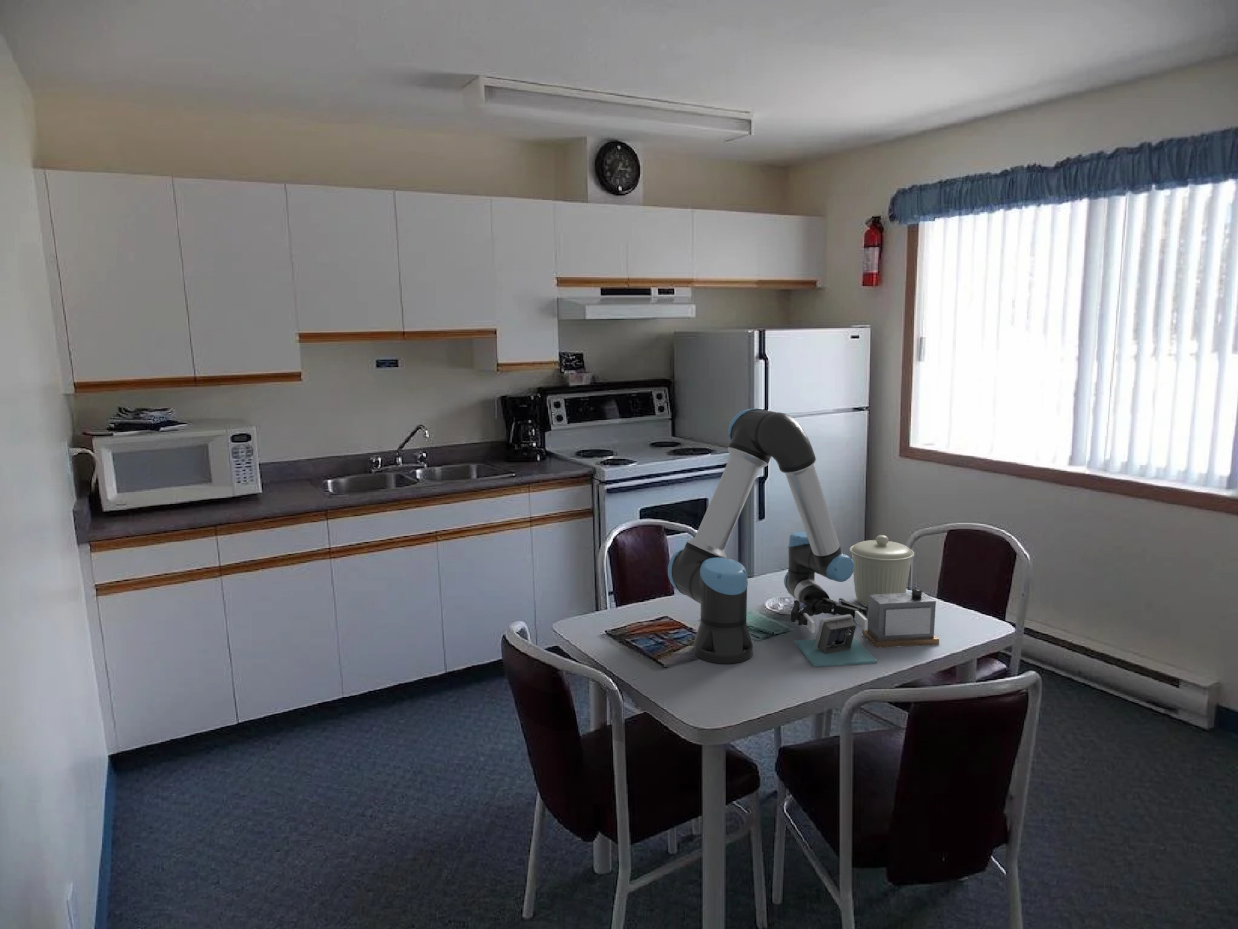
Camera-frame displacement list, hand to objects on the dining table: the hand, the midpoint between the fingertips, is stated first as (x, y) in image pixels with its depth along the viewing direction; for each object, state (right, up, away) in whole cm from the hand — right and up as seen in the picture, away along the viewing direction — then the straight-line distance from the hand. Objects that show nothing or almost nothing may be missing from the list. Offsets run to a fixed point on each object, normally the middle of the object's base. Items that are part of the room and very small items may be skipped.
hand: (839, 626), depth 200 cm
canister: (+22, -1, +38) cm, 44 cm away
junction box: (+19, -6, +12) cm, 23 cm away
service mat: (0, -7, +4) cm, 8 cm away
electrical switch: (0, -7, +4) cm, 8 cm away
